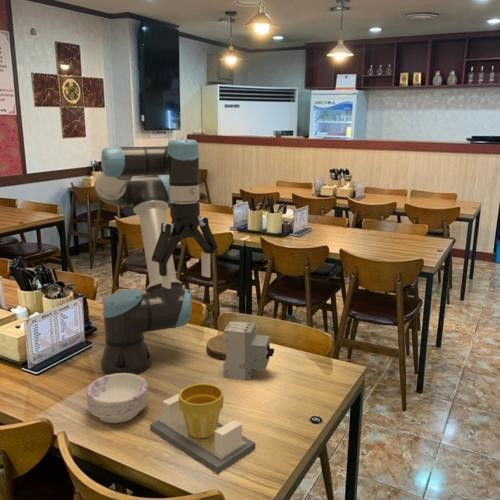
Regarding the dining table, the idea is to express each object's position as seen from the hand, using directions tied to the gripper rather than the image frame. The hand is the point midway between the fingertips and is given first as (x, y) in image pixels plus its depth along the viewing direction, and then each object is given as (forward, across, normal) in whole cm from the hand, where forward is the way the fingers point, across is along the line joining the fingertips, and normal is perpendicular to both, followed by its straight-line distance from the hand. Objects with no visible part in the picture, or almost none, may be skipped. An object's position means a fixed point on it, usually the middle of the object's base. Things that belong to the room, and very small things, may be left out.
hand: (187, 281), depth 135 cm
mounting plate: (+33, -12, -18) cm, 39 cm away
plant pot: (+31, -12, -18) cm, 37 cm away
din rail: (+31, -12, -18) cm, 38 cm away
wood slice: (+33, +28, +12) cm, 45 cm away
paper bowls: (+33, -19, +6) cm, 39 cm away
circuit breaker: (+33, +20, -4) cm, 39 cm away
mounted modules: (+31, -12, -18) cm, 37 cm away
